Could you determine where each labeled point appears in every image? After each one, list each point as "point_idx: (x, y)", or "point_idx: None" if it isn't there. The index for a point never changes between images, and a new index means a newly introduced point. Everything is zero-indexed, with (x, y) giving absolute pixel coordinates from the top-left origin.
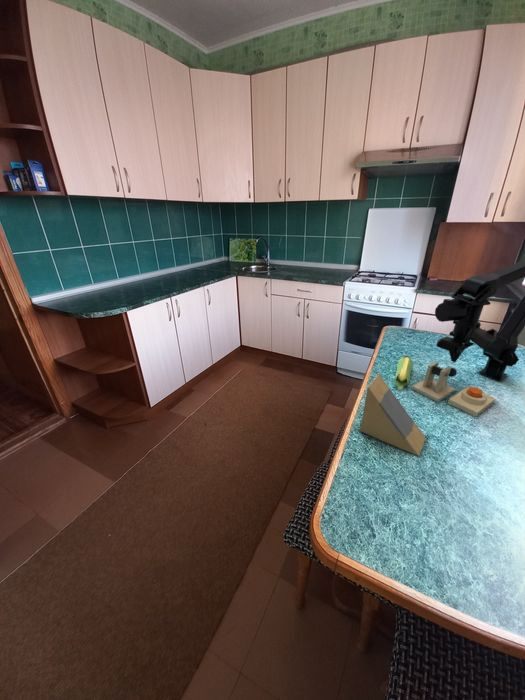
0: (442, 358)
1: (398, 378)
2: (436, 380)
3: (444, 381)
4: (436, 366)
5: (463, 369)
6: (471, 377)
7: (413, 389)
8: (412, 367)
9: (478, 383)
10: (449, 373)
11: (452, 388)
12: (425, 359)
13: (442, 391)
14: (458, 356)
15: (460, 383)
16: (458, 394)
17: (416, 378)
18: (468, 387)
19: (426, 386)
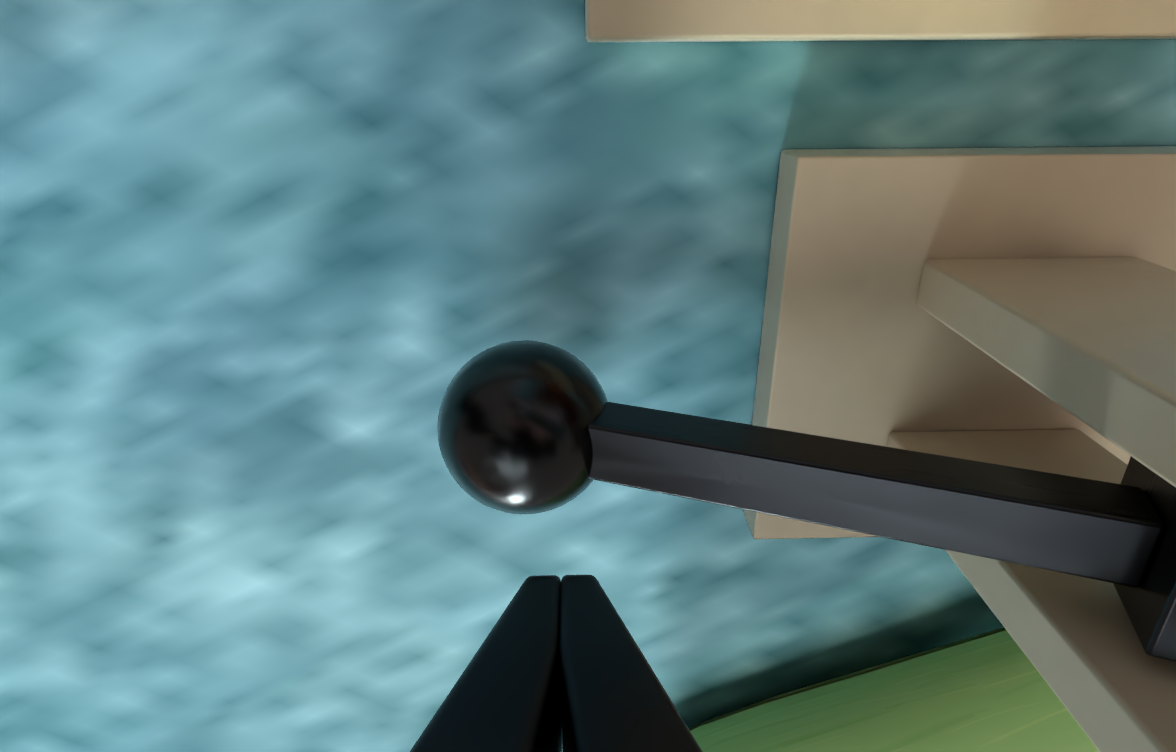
0: (46, 669)
1: None
2: None
3: (1138, 316)
4: (1156, 676)
5: (12, 388)
6: (109, 199)
7: None
8: (713, 739)
9: (173, 27)
10: (668, 415)
11: (827, 185)
12: (288, 746)
13: (1031, 234)
14: (579, 711)
15: (454, 211)
16: (1021, 4)
17: (823, 588)
18: (624, 12)
19: (1053, 430)
